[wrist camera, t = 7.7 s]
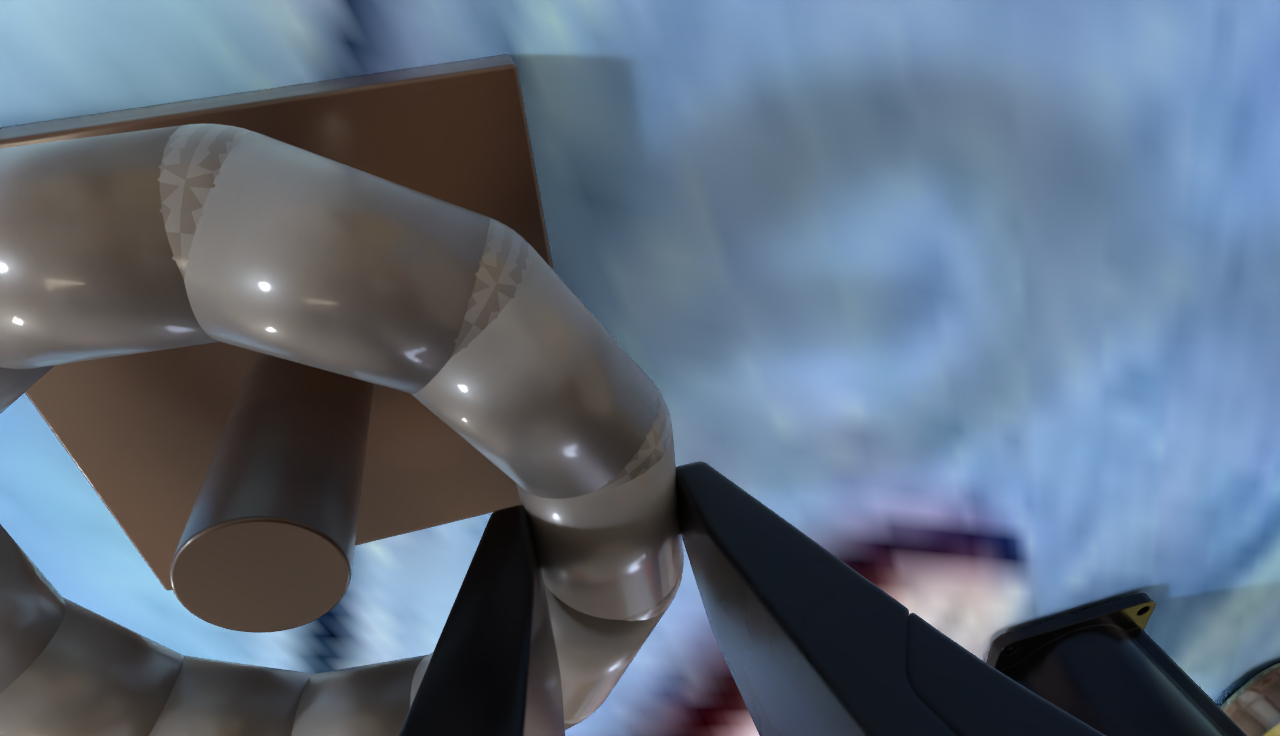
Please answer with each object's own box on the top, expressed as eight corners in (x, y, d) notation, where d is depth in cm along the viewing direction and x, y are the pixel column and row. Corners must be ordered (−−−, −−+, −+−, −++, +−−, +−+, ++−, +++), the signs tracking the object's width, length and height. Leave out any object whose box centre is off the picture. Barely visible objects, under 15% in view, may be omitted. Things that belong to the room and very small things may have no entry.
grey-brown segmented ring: (627, 50, 7) (655, 93, 6) (686, 658, 13) (709, 768, 11) (-458, 186, 7) (-781, 279, 5) (105, 757, 13) (40, 888, 11)
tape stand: (510, 52, 12) (568, 154, 7) (584, 461, 17) (648, 688, 12) (-100, 141, 10) (-567, 346, 6) (179, 556, 15) (63, 856, 11)
